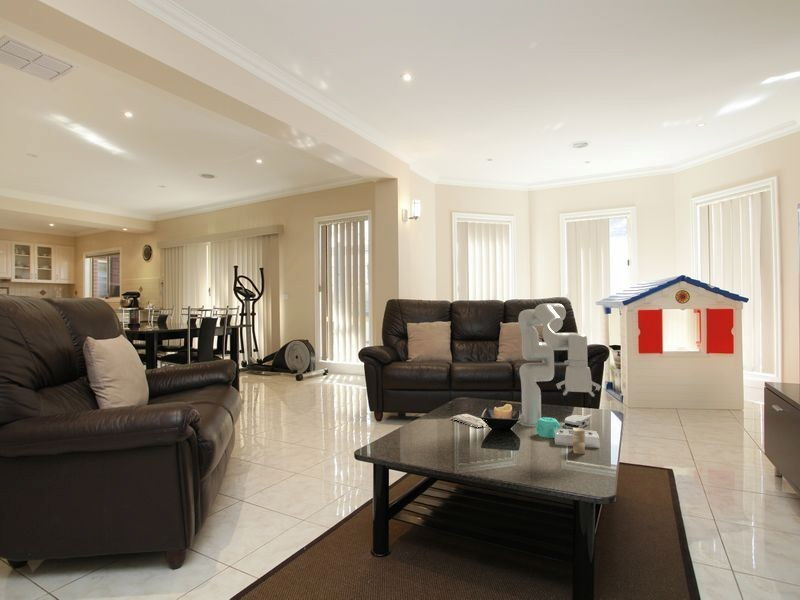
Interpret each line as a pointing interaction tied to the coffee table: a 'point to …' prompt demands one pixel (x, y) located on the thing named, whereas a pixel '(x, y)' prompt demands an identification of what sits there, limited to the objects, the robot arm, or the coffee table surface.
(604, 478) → the coffee table surface
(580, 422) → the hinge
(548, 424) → the decorative dice
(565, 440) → the rail block
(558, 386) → the robot arm
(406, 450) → the coffee table surface
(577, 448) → the beech peg
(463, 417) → the newspaper
